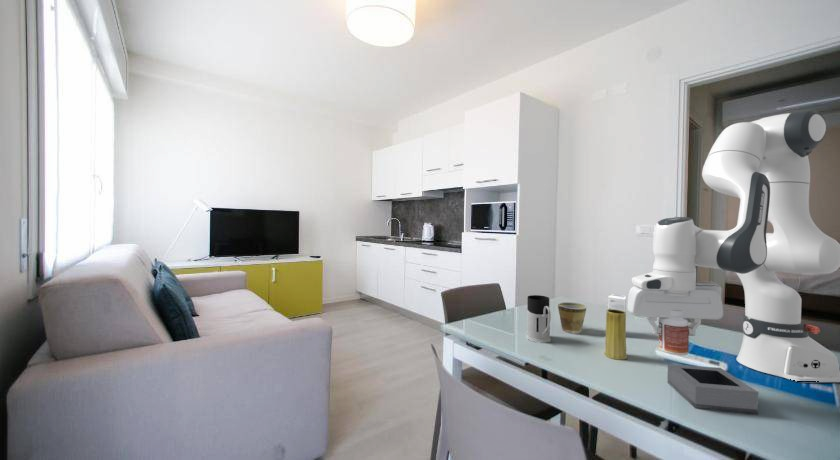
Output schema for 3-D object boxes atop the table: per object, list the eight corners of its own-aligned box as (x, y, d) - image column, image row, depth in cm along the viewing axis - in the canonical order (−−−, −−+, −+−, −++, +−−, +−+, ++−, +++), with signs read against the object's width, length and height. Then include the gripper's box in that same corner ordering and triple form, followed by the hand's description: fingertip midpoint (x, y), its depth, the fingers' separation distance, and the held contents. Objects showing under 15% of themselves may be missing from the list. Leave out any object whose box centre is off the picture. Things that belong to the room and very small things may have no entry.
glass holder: (545, 334, 124) (545, 294, 124) (562, 348, 110) (562, 304, 110) (522, 334, 124) (522, 294, 124) (536, 349, 110) (536, 304, 109)
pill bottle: (695, 354, 82) (695, 310, 82) (675, 357, 81) (675, 313, 81) (671, 345, 89) (671, 304, 88) (652, 348, 87) (652, 306, 87)
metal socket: (720, 387, 84) (720, 367, 84) (757, 414, 73) (758, 391, 73) (667, 382, 87) (667, 364, 87) (695, 408, 75) (695, 386, 75)
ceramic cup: (591, 335, 123) (591, 308, 122) (564, 335, 123) (564, 308, 122) (575, 324, 136) (575, 300, 135) (550, 324, 136) (551, 300, 135)
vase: (630, 360, 100) (630, 314, 100) (608, 359, 102) (608, 313, 101) (622, 352, 106) (622, 309, 106) (601, 351, 108) (602, 308, 107)
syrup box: (625, 333, 125) (626, 295, 124) (625, 337, 120) (626, 298, 119) (608, 330, 128) (608, 293, 128) (607, 334, 123) (608, 296, 123)
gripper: (712, 279, 85) (712, 332, 85) (625, 277, 89) (625, 328, 90) (730, 284, 79) (729, 341, 79) (634, 282, 83) (634, 336, 84)
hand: (673, 334), depth 85 cm, fingers closed on pill bottle, 6 cm apart
